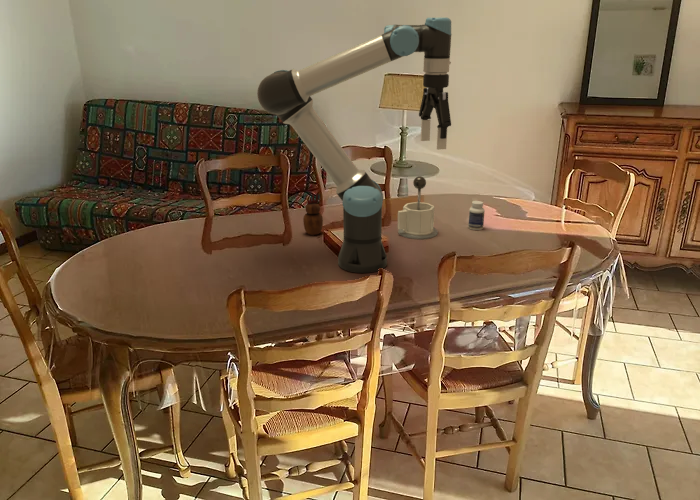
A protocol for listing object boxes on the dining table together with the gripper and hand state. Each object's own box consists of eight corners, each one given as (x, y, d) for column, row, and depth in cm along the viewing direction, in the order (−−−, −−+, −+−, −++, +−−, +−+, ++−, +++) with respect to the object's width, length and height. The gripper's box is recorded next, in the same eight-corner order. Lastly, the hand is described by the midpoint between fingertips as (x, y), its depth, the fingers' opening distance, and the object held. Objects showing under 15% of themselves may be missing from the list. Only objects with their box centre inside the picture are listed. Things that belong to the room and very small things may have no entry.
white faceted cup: (407, 241, 201) (408, 215, 198) (389, 229, 213) (389, 204, 210) (445, 235, 207) (446, 209, 203) (424, 223, 219) (425, 199, 215)
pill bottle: (484, 230, 212) (486, 204, 208) (469, 230, 212) (471, 204, 208) (481, 225, 217) (483, 200, 213) (466, 225, 217) (468, 200, 213)
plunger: (414, 231, 205) (415, 180, 198) (404, 225, 211) (405, 175, 205) (432, 228, 208) (434, 177, 201) (421, 222, 214) (423, 173, 207)
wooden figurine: (324, 231, 212) (322, 190, 207) (321, 236, 207) (320, 195, 202) (305, 230, 213) (303, 190, 208) (302, 236, 208) (301, 194, 202)
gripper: (465, 76, 164) (460, 152, 172) (432, 69, 187) (429, 136, 194) (440, 77, 162) (436, 153, 170) (410, 70, 185) (408, 137, 193)
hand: (433, 144), depth 182 cm, fingers open, 13 cm apart
